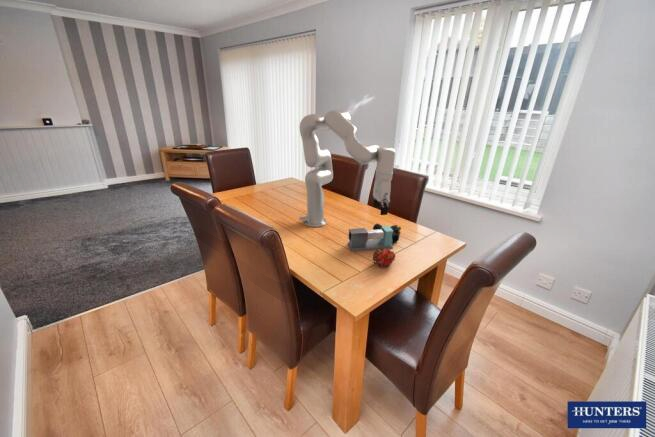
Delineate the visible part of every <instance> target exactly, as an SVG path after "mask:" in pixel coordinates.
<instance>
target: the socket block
mask: <svg viewBox="0 0 655 437" xmlns="http://www.w3.org/2000/svg"><path fill="white" fill-rule="evenodd" d="M390 227H391V226H390V225H382V226H381V229H383V230H384V231H385V238H382V239H380V241H381V242H382V243H383V245H384V246H393V243H392V233H393V232H394V231H393V230H392V229H391V228H390Z"/></svg>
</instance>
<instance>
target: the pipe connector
mask: <svg viewBox="0 0 655 437" xmlns="http://www.w3.org/2000/svg"><path fill="white" fill-rule="evenodd" d="M381 226H383V225H382V224H380V223H375V224H374V225H373V227H372V230H377V229H381ZM389 227H390V228H391V229H392V230H393V231H394V232H393V233H392V244H396V243H397V242H399V239H400V236H399V235H401V230H402V227H401V226H398V225H397V224H393V225H391V226H389Z"/></svg>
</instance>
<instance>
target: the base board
mask: <svg viewBox="0 0 655 437" xmlns="http://www.w3.org/2000/svg"><path fill="white" fill-rule="evenodd" d="M346 243H347V246H348V248H349V250H350V251H351V253H355V252H356V253H357V252H366V251H376V250H377V249H379V250H381V248H384V250H385V249H389V250H391V249H392V250H393V247H394V245H392V246H384V245H383V243H382V242H381V241H380V239H369V240H367V242H366V247H362V248H352V247H351V246H350V244H349V241H347V242H346Z"/></svg>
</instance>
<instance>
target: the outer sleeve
mask: <svg viewBox="0 0 655 437" xmlns="http://www.w3.org/2000/svg"><path fill="white" fill-rule="evenodd" d="M348 240H349V241H348V242H349V244H350V246H351V247H352V248H362V247H366V242H367V240H368V232H367V229H366V228H365V227H358V228H349V229H348Z"/></svg>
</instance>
